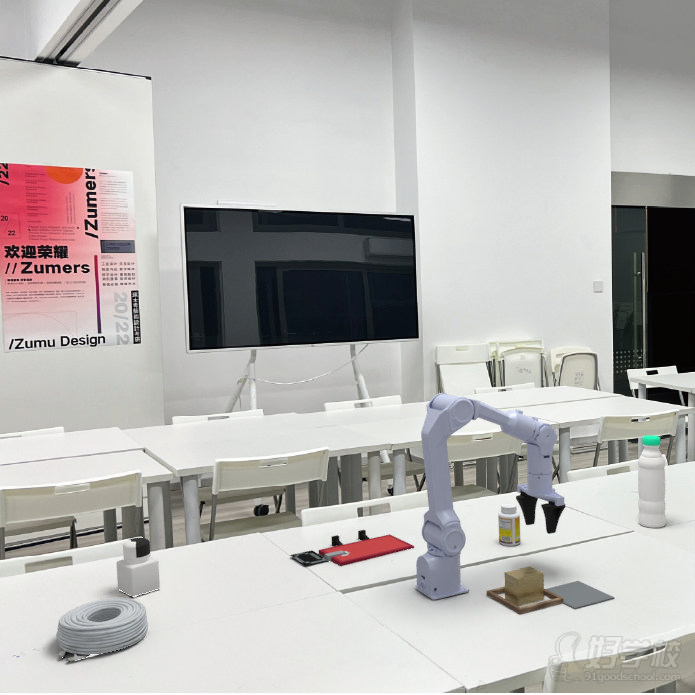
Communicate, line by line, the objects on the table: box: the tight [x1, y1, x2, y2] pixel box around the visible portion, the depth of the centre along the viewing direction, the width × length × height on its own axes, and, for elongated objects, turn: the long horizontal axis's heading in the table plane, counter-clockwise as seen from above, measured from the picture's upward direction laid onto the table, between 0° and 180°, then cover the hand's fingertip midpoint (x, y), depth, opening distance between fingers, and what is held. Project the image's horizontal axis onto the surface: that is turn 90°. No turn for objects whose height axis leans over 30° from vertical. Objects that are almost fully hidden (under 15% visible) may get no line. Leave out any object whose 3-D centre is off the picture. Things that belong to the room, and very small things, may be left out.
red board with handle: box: [289, 529, 415, 567], centre depth 199 cm, size 30×3×15 cm
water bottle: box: [637, 434, 666, 529], centre depth 212 cm, size 7×7×25 cm
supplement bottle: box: [497, 503, 521, 547], centre depth 201 cm, size 6×6×10 cm
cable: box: [55, 597, 149, 662], centre depth 153 cm, size 18×18×6 cm
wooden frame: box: [486, 585, 564, 615], centre depth 165 cm, size 12×12×1 cm
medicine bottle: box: [115, 537, 161, 596], centre depth 177 cm, size 7×7×12 cm
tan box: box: [503, 566, 545, 607], centre depth 165 cm, size 7×4×6 cm, turn 116°
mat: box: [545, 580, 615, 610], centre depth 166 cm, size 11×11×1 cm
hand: (540, 528), depth 181 cm, fingers open, 7 cm apart
